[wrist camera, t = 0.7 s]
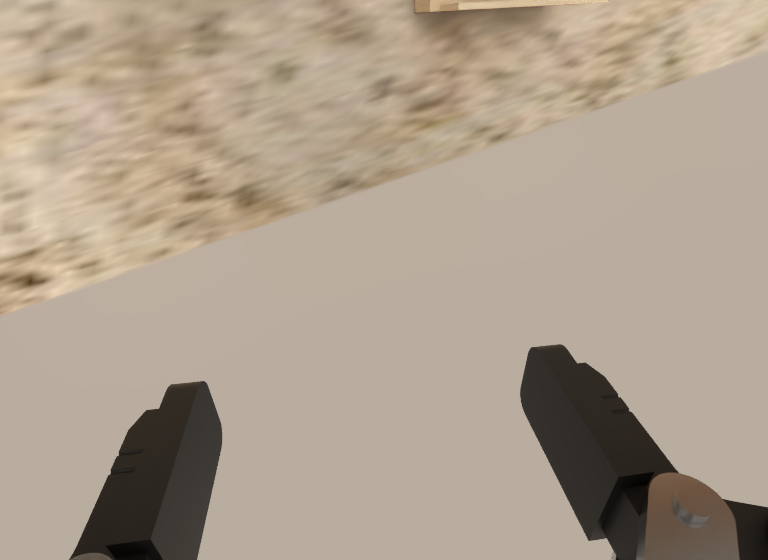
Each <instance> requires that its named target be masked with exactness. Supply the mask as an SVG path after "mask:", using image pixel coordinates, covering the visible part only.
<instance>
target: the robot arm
mask: <svg viewBox="0 0 768 560" xmlns="http://www.w3.org/2000/svg"><path fill="white" fill-rule="evenodd" d="M520 396H521V403H522V407H523V410H524V412H525V415H526V417H527V419H528V421H529V423H530V425H531V427H532V429H533V431H534V433H535V435H536V437H537V439H538V441H539V443H540V445H541V446H542V449H543V451H544V453H545V455H546V457H547V459H548V461H549V463H550V465H551V467H552V469H553V471H554V473H555V475H556V476H557V479H558V481H559V482H560V485H561V486H562V488H563V491H564V493H565V495H566V497H567V499H568V500H569V502H570V505H571V506H572V509H573V510H574V513H575V515H576V517H577V518H578V520H579V522H580V524H581V526H582V528H583V530H584V532H585V534H586V536H587V538H588V540H589V541H591V540H598V539H604V538H607V539H608V541H609V543H610V545H611V547H612V549H613V550H614V552H613V553H612V557H611V560H768V507H762V506H756V505H750V504H745V503H739V502H734V501H729V500H725V499H722V498H721V497H720V496H719V495H718V494H717V493H716V492H715V491H714V490H713V489H711V488H710V487H708V486H707V485H706V484H704V483H702V482H701V481H699V480H697V479H695V478H692V477H690V476H687V475H683V474H680V473H678V471H677V470H676V469H675V468H674V467H673V465H672V464H671V463H670V461H669V460H668V459H667V458H666V456H665V455H664V454H663V452H662V451H661V450H660V448H659V447H658V446H657V444H656V443H655V442H654V441H653V439H652V438H651V437H650V435H649V434H648V433H647V431H646V430H645V429H644V427H643V426H642V425H641V424H640V422H639V421H638V420H637V419H636V417H635V416H634V414H633V413H632V412H629V408H628V407H627V405H626V404H625V403H624V401H623V400H622V399H621V398H619V397H618V394H617V392H616V391H615V390H614V389H613V387H612V386H611V384H610V383H609V382H608V381H607V379H606V378H605V377H604V376H603V375H602V374H600V373H599V372H598V371H596V370H595V369H593V368H592V367H591V366H589V365H588V364H587V363H578V364H577V363H576V361H575V360H574V358H573V357H572V356H571V354H570V353H569V351H568V350H567V349H566V347H564V346H563V345H560V344H559V345H550V346H540V347H532V348H531V349H530V350H529V353H528V356H527V361H526V366H525V370H524V375H523V380H522V384H521V390H520ZM221 446H222V428H221V422H220V419H219V417H218V414H217V411H216V408H215V405H214V402H213V399H212V396H211V393H210V391H209V388H208V385H207V383H206V382H204V381H200V382H192V383H181V384H172V385H170V386H169V387H168V388H167V391H166V393H165V395H164V398H163V400H162V403H161V406H160V408H159V409H153V410H146V411H145V412H144V413H143V415H142V416H141V417H140V418H139V419H138V420H137V421H136V422H135V424H134V425H133V426H132V427H131V428H130V429H129V430H128V432H127V435H126V437H125V439H124V441H123V444H122V446H121V448H120V450H119V456H117V457H116V459H115V462H114V464H113V466H112V468H111V474H110V475H108V477H107V480H106V482H105V484H104V486H103V489H102V491H101V493H100V495H99V498H98V500H97V502H96V504H95V507H94V509H93V511H92V513H91V515H90V518H89V520H88V522H87V524H86V527H85V529H84V531H83V533H82V536H81V538H80V540H79V542H78V545H77V547H76V549H75V551H74V553H73V554H72V556H71V558H70V559H69V560H197V556H198V552H199V547H200V543H201V538H202V534H203V529H204V525H205V520H206V516H207V511H208V506H209V502H210V498H211V493H212V488H213V484H214V479H215V475H216V470H217V466H218V461H219V456H220V452H221Z"/></svg>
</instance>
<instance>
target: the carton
mask: <svg viewBox="0 0 768 560" xmlns="http://www.w3.org/2000/svg"><path fill="white" fill-rule="evenodd" d="M601 2H608V0H414V13H418V12H437V11H456V10H475V9H494V8H514V7H533V6H551V5H568V4H584V3H601Z"/></svg>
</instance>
